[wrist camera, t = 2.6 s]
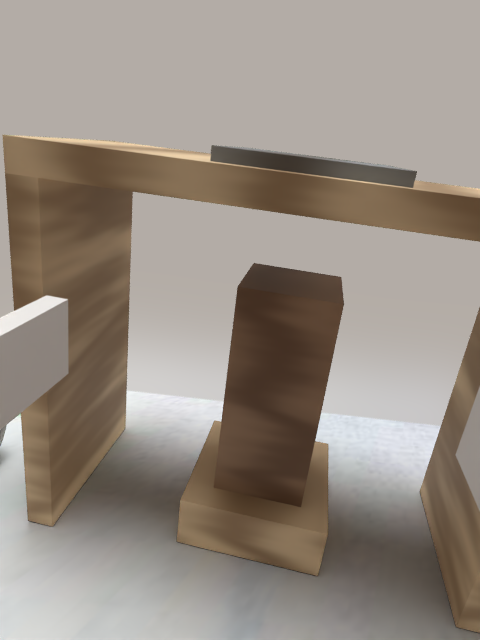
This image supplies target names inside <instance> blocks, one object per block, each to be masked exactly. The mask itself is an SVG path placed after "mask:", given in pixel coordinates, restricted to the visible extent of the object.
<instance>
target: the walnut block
mask: <svg viewBox="0 0 480 640" xmlns="http://www.w3.org/2000/svg"><path fill="white" fill-rule="evenodd" d="M343 306H344V301H343V292H342V280H341V277H338V276H330V275H325V274H318V273H313V272H306V271H300V270H294V269H287V268H281V267H274V266H269V265H262V264H256V263H254V264H253V265H252V267H251V268H250V270H249V271H248V272H247V274H246V275H245V277H244V278H243V280H242V281H241V283H240V284H239V285H238V289H237V297H236V306H235V314H234V322H233V330H232V339H231V347H230V355H229V364H228V372H227V381H226V389H225V397H224V405H223V413H222V422H221V430H220V438H219V446H218V455H217V463H216V471H215V480H214V488H218V489H222V490H227V491H231V492H236V493H240V494H244V495H249V496H253V497H258V498H262V499H266V500H271V501H275V502H280V503H284V504H289V505H293V506H297V507H301V505H302V500H303V495H304V491H305V486H306V481H307V476H308V472H309V467H310V462H311V457H312V453H313V448H314V443H315V439H316V434H317V429H318V424H319V420H320V415H321V410H322V405H323V400H324V396H325V391H326V386H327V382H328V376H329V372H330V367H331V363H332V358H333V353H334V348H335V344H336V339H337V334H338V329H339V325H340V320H341V315H342V310H343Z"/></svg>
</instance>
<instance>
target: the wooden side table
mask: <svg viewBox="0 0 480 640" xmlns="http://www.w3.org/2000/svg"><path fill="white" fill-rule="evenodd" d="M3 147H4V163H5V178H6V193H7V209H8V223H9V239H10V254H11V268H12V284H13V299H14V311H15V310H17V309H19V308H22V307H24V306H26V305H28V304H30V303H32V302H34V301H36V300H38V299H40V298H42V297H44V296H46V295H48V296H53V297H58V298H64V299H68V372H69V373H68V374H67V375H66V376H65V377H64V378H62V379H61V380H60V381H59V382H58V383H56V384H55V385H54V386H53V387H52V388H50V389H49V390H48V391H47V392H46V393H44V394H43V395H42V396H41V397H39V398H38V399H37V400H36V401H35V402H33V403H32V404H31V405H30V406H29V407H27V408H26V409H25V410H24V411H23V412H21V421H22V436H23V451H24V467H25V482H26V497H27V512H28V521H32V522H36V523H40V524H44V525H48V526H53V525H54V524H55V522H56V521H57V520H58V518H59V517H60V516H61V514H62V513H63V512H64V510H65V509H66V508H67V506H68V505H69V503H70V502H71V501H72V499H73V498H74V497H75V495H76V494H77V493H78V491H79V490H80V489H81V487H82V486H83V485H84V483H85V482H86V481H87V479H88V478H89V477H90V475H91V474H92V472H93V471H94V470H95V468H96V467H97V466H98V464H99V463H100V462H101V460H102V459H103V458H104V456H105V455H106V454H107V452H108V451H109V450H110V448H111V447H112V445H113V444H114V443H115V441H116V440H117V439H118V437H119V436H120V435H121V433H122V432H123V431H124V429H125V421H126V389H127V387H126V386H127V356H128V354H127V353H128V324H129V323H128V322H129V291H130V258H131V227H132V226H131V225H132V194H133V193H132V192H140V193H147V194H153V195H160V196H168V197H174V198H181V199H188V200H195V201H202V202H209V203H216V204H223V205H230V206H237V207H244V208H251V209H259V210H265V211H271V212H278V213H285V214H292V215H299V216H306V217H313V218H320V219H327V220H334V221H341V222H348V223H354V224H361V225H368V226H375V227H383V228H390V229H396V230H403V231H410V232H417V233H424V234H431V235H438V236H445V237H451V238H459V239H465V240H472V241H479V242H480V189H476V188H469V187H461V186H454V185H446V184H438V183H431V182H423V181H415V178H416V173H417V171H412V170H407V169H402V168H397V167H393V166H386V165H379V164H371V163H363V162H355V161H347V160H340V159H332V158H324V157H316V156H308V155H300V154H292V153H284V152H277V151H269V150H260V149H253V148H244V147H228V146H214V145H212V148H211V154H208V153H200V152H193V151H185V150H177V149H170V148H162V147H153V146H146V145H139V144H131V143H123V142H115V141H104V140H86V139H68V138H50V137H33V136H31V137H30V136H14V135H3ZM479 387H480V308H479V311H478V315H477V317H476V321H475V324H474V327H473V330H472V333H471V336H470V339H469V342H468V345H467V348H466V351H465V354H464V358H463V360H462V363H461V367H460V370H459V373H458V376H457V379H456V382H455V385H454V388H453V391H452V394H451V397H450V400H449V403H448V406H447V410H446V413H445V416H444V419H443V422H442V425H441V428H440V431H439V434H438V437H437V440H436V443H435V446H434V449H433V452H432V455H431V458H430V462H429V465H428V468H427V471H426V474H425V477H424V480H423V483H422V486H421V489H420V494H421V498H422V502H423V505H424V509H425V513H426V517H427V520H428V524H429V528H430V532H431V535H432V539H433V543H434V547H435V550H436V554H437V558H438V562H439V565H440V569H441V573H442V577H443V580H444V584H445V588H446V592H447V595H448V599H449V603H450V607H451V610H452V614H453V618H454V621H455V625H456V627H458V628H462V629H466V630H470V631H474V632H478V633H480V511H479V509H478V506H477V504H476V502H475V499H474V497H473V495H472V492H471V490H470V488H469V485H468V483H467V481H466V478H465V476H464V474H463V471H462V469H461V467H460V464H459V462H458V460H457V457H456V455H455V454H456V452H457V449H458V446H459V443H460V440H461V438H462V435H463V432H464V429H465V426H466V423H467V421H468V418H469V415H470V412H471V409H472V407H473V404H474V401H475V398H476V395H477V392H478V390H479ZM220 430H221V422H219V421H215V420H214V423H213V425H212V427H211V430H210V432H209V434H208V437H207V439H206V441H205V444H204V446H203V448H202V451H201V453H200V455H199V458H198V460H197V462H196V465H195V467H194V469H193V472H192V474H191V476H190V479H189V481H188V483H187V486H186V488H185V490H184V493H183V495H182V497H181V500H180V509H179V520H178V532H177V542H180V543H184V544H188V545H192V546H196V547H200V548H204V549H209V550H213V551H217V552H221V553H225V554H229V555H233V556H237V557H241V558H245V559H249V560H254V561H258V562H262V563H266V564H270V565H274V566H278V567H282V568H286V569H290V570H295V571H299V572H303V573H307V574H311V575H315V576H318V573H319V569H320V565H321V561H322V557H323V553H324V549H325V545H326V540H327V536H328V444H326V443H321V442H316V441H315V443H314V448H313V453H312V457H311V462H310V467H309V472H308V476H307V481H306V486H305V491H304V495H303V500H302V505H301V507H297V506H293V505H289V504H284V503H280V502H275V501H271V500H266V499H262V498H258V497H253V496H249V495H244V494H240V493H236V492H231V491H227V490H222V489H218V488H214V480H215V471H216V463H217V455H218V446H219V438H220Z"/></svg>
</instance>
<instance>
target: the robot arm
mask: <svg viewBox="0 0 480 640" xmlns="http://www.w3.org/2000/svg"><path fill="white" fill-rule="evenodd" d="M68 373H69V372H68V299H64V298H58V297H53V296H48V295H46V296H44V297H42V298H40V299H38V300H36V301H34V302H32V303H30V304H28V305H26V306H24V307H22V308H19V309H17V310H15V311H13V312H12V313H9V314H7V315H5V316H3V317H1V318H0V430H1V429H2V428H3V427H4V426H6V425H7V424H8V423H9V422H10V421H12V420H13V419H14V418H15V417H17V416H18V415H19V414H20V413H21V412H23V411H24V410H25V409H26V408H27V407H29V406H30V405H31V404H32V403H33V402H35V401H36V400H37V399H38V398H39V397H41V396H42V395H43V394H44V393H46V392H47V391H48V390H49V389H50V388H52V387H53V386H54V385H55V384H56V383H58V382H59V381H60V380H61V379H62V378H64V377H65V376H66V375H67V374H68ZM455 455H456V457H457V460H458V462H459V464H460V467H461V469H462V471H463V474H464V476H465V478H466V481H467V483H468V485H469V488H470V490H471V492H472V495H473V497H474V499H475V502H476V504H477V506H478V509H479V511H480V387H479V390H478V392H477V395H476V398H475V401H474V404H473V407H472V409H471V412H470V415H469V418H468V421H467V423H466V426H465V429H464V432H463V435H462V438H461V440H460V443H459V446H458V449H457V452H456V454H455Z"/></svg>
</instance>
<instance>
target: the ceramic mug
mask: <svg viewBox="0 0 480 640" xmlns="http://www.w3.org/2000/svg"><path fill="white" fill-rule="evenodd" d="M5 430H6V426H4V427H3V428H2V429H1V430H0V445H1V443H2V440H3V437H4V433H5Z"/></svg>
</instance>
